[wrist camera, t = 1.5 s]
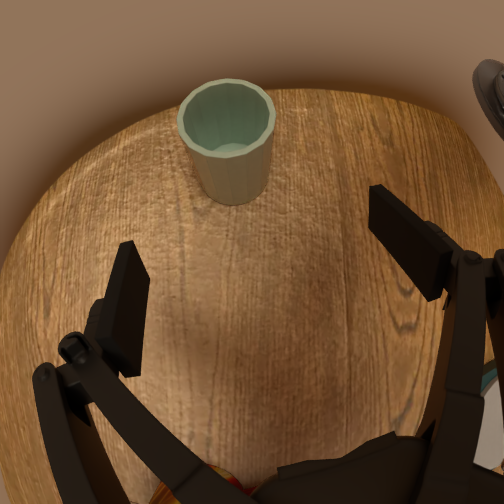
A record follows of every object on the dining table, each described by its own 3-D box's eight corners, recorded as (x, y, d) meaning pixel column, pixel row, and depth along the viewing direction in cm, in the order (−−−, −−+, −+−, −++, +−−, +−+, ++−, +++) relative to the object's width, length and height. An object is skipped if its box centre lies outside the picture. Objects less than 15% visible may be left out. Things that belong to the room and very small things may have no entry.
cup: (259, 136, 34) (261, 71, 23) (276, 196, 32) (287, 145, 22) (193, 150, 33) (172, 90, 23) (205, 212, 32) (184, 168, 21)
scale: (532, 333, 30) (548, 333, 26) (532, 426, 27) (546, 431, 23) (435, 391, 29) (451, 397, 25) (439, 490, 26) (451, 501, 23)
